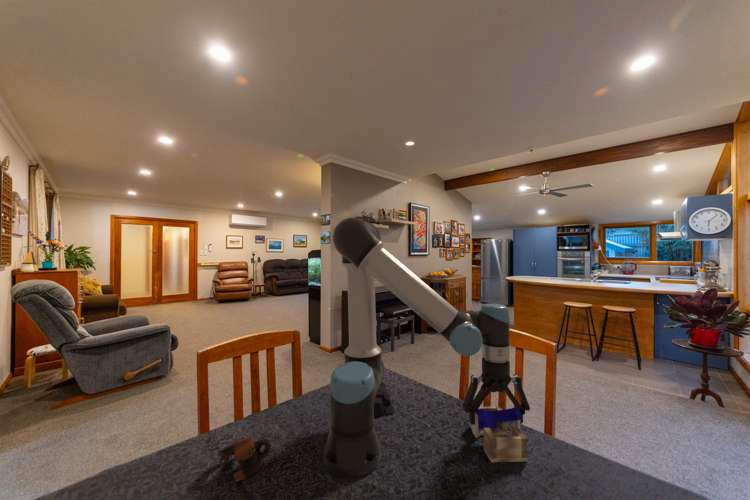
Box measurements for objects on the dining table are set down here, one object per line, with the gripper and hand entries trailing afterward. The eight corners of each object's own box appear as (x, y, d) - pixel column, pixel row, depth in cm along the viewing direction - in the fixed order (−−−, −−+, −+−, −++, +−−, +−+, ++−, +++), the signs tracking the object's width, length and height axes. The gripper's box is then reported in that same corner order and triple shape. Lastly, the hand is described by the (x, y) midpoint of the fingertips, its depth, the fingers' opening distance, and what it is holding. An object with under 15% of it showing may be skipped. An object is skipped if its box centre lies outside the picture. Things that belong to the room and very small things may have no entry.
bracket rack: (491, 462, 77) (491, 439, 77) (469, 426, 93) (469, 406, 93) (527, 461, 77) (527, 438, 77) (499, 425, 93) (499, 406, 93)
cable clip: (475, 429, 86) (481, 427, 81) (471, 412, 89) (477, 409, 84) (515, 427, 86) (524, 425, 82) (510, 410, 89) (519, 407, 84)
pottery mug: (222, 492, 68) (214, 454, 71) (228, 483, 76) (221, 448, 79) (275, 464, 73) (265, 428, 76) (275, 458, 81) (267, 426, 84)
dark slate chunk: (390, 387, 121) (390, 375, 121) (394, 418, 99) (394, 403, 99) (352, 388, 120) (352, 376, 120) (348, 418, 98) (348, 404, 98)
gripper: (458, 363, 81) (459, 443, 81) (543, 362, 82) (544, 441, 82) (450, 354, 89) (451, 427, 89) (528, 353, 89) (529, 425, 89)
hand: (496, 434), depth 85 cm, fingers closed on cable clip, 11 cm apart
